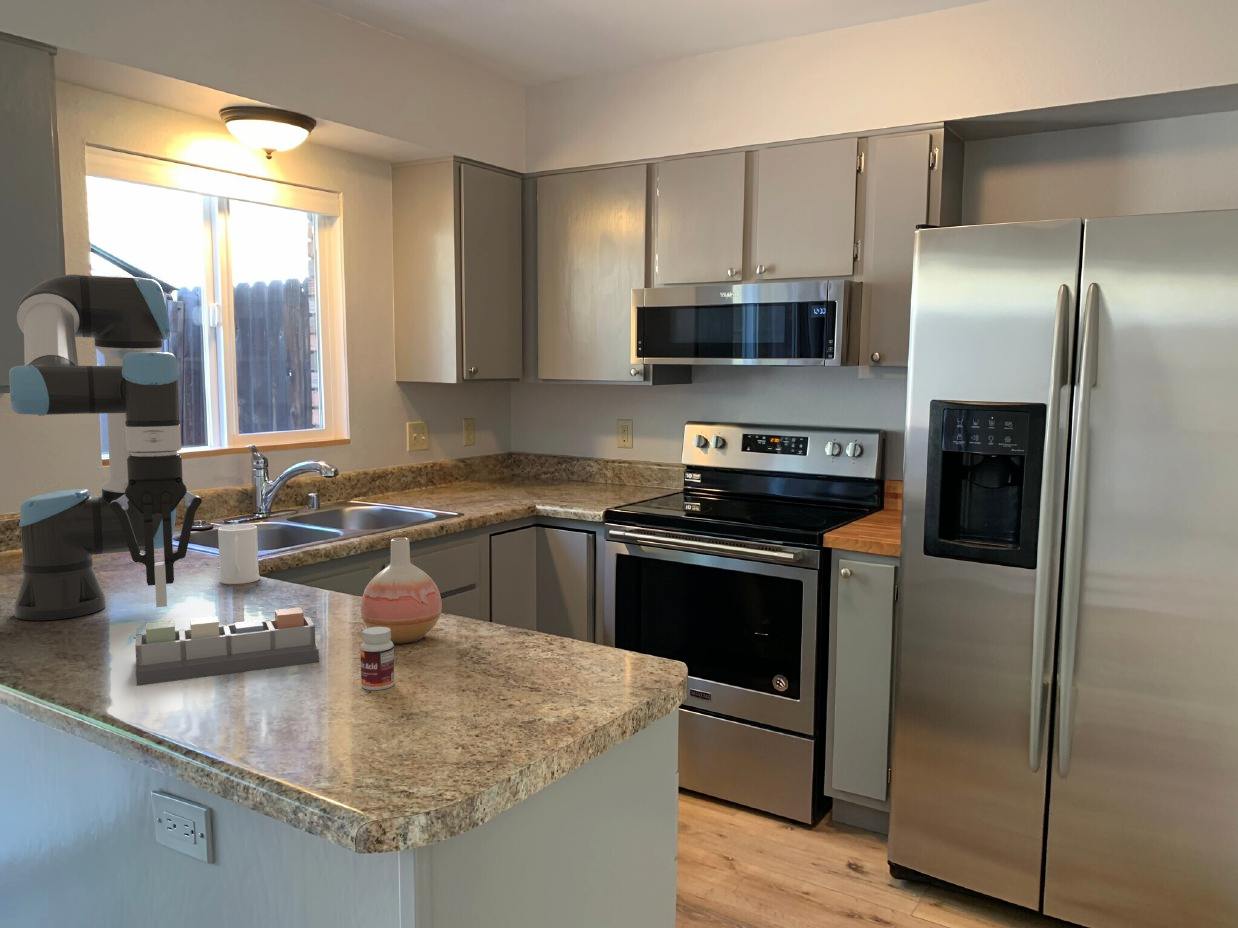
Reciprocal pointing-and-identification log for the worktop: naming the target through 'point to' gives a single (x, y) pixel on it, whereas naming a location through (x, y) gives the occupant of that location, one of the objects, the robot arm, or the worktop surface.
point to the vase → (401, 598)
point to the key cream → (204, 627)
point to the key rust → (289, 618)
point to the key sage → (160, 632)
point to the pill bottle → (377, 659)
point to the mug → (238, 554)
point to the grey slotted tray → (224, 652)
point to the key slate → (248, 626)
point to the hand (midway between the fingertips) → (161, 604)
